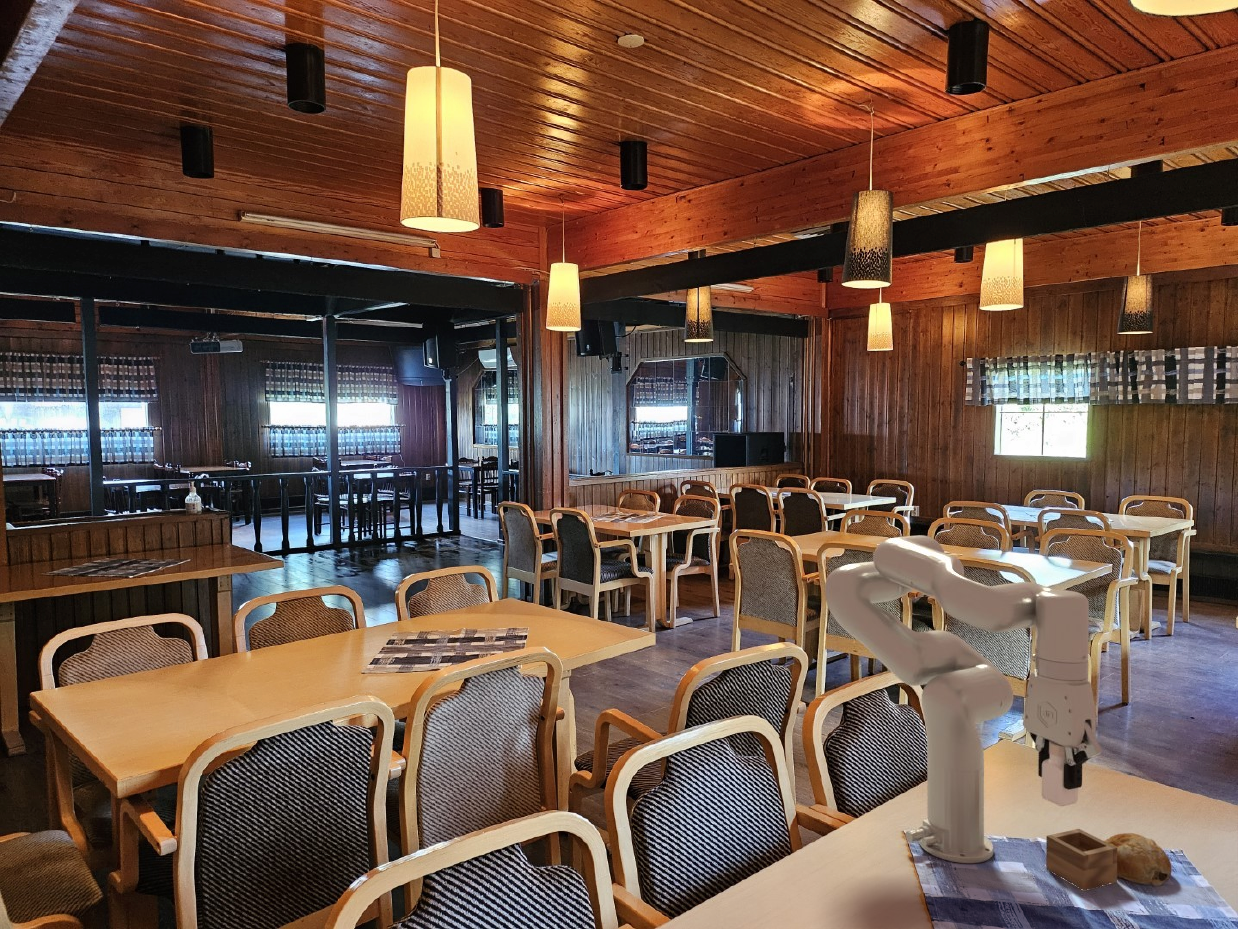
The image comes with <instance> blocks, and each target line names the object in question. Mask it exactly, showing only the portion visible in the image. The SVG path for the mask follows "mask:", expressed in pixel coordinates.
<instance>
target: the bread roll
mask: <svg viewBox="0 0 1238 929" xmlns="http://www.w3.org/2000/svg"><path fill="white" fill-rule="evenodd" d="M1103 841H1104V842H1106V843H1108V844H1110V845H1112V846H1114V847H1116V848H1117V878H1119V877H1121V879H1123V880H1127V881H1128V882H1131V883H1135V884H1138V883H1139V885H1145V886H1150V885H1151V886H1154V887H1159V886H1161V885H1163V883H1165V882H1166V881H1167V880H1168V879H1169V878H1170V876H1171V875H1172V870H1173V869H1172V868H1173V866H1172V863H1171V861H1170V858H1169V856H1168V855H1167V854H1166V852H1165V850H1164V849H1163V848H1162V847H1160V846H1159V845H1158V844H1157V843H1156V841H1155V840H1154V839H1152V838H1148V837H1145V836H1144V835H1140V834H1137V833H1132V832H1131V833H1130V832H1125V833H1118V834H1114V835H1112V836H1110V837H1109V838H1107V839H1106V840H1103Z"/></svg>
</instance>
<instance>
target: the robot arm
mask: <svg viewBox="0 0 1238 929" xmlns="http://www.w3.org/2000/svg"><path fill="white" fill-rule="evenodd" d="M912 591H916V592H918V593H920V594H922V595H925V596H927V597H930V598H932V599H934V600H936V602H937V604H938V605H939V606H940V608H941V609H942V610H943V611H944V612H945V613H946V614H947V615H948V616H950V617H951V618H954V619H955V620H957V621H959V622H962V623H965V624H967V625H970V626H972V627H974V628H977V629H979V630H982V631H986V632H989V633H997V634H998V633H1005V632H1010V631H1014V630H1015V631H1016V630H1020V629H1022V630H1023V629H1030V628H1035V629H1034V630H1035V632H1034V634H1035V635H1034V637H1035V639H1034V641H1035V642H1034V644H1035V646H1034V653H1033V654H1032V655H1031V660H1032V661H1033V662H1034V670H1032V671H1030V674H1029V677H1028V678H1029V679H1028V682H1027V686H1026V692H1025V703H1024V704H1025V705H1024V719H1023V722H1022V725H1023V727H1024V728H1025V730H1026V731H1027V732H1028V733H1029V735H1030V737H1031V739H1032V741H1033V742H1034V749H1035V751H1037V752H1038V763H1037V764H1038V768H1037V769H1038V770H1037V772H1038V774H1037V775H1038V777H1040V778H1042V763H1043V761H1044V760H1046V759H1049V758H1050V753H1049V741H1052V742H1055V743H1057V744H1060V745H1062V746H1065V750H1066V757H1067V762H1068V763H1065V764H1064V788H1066V789H1068V790H1069V789H1074V788H1078V789H1079V788H1081V787H1082V786H1083V765H1084V764H1086V763H1087V761H1088V760H1091V759H1092V758H1093V757H1097V756H1100V755H1101V754H1102V753H1103V752H1102V748H1101V746H1100V744H1099V743H1098V740H1097V738H1096V731H1097V730H1096V725H1097V724H1096V723H1097V722H1096V708H1095V700H1094V699H1095V698H1094V694H1093V688H1092V683H1091V681H1089V640H1090V639H1089V635H1090V634H1089V633H1090V632H1089V626H1090V617H1089V616H1090V607H1089V606H1090V604H1089V600H1088V598H1087V597H1086V595H1084V594H1083V593H1080V592H1078V591H1073V590H1066V589H1054V588H1051V587H1048V586H1045V585H1042V584H1039V583H1036V582H1031V581H1020V582H1014V583H1003V584H997V585H992V586H990V585H986V584H983V583H980V582H977V581H974V580H972V579H969V578H968V577H965V569H964V565H963V563H962V562H961V560H960V559H959V558H958V557H956V556H955V555H951V554H948V553H945V550H944V548H943V547H942V545H941V544H940V542H938V541H937V540H936V539H934V538H933V537H930V536H928V535H923V534H922V535H920V534H919V535H910V536H909V535H908V536H897V537H891V538H888V539H886V540H884V541H882V542H880V543H879V544H878V545H877V547H876V548H875V550H874V552H873V556H872V561H866V562H858V563H857V562H855V563H849V564H845V565H842V566H840V567H837V568H835V569H834V570H833V571H831V572H830V573H829V574H828V576H827V578H826V581H825V583H824V596H825V602H826V605H827V607H828V610H829V613H830V614H831V616H832V617H833V619H834V620H835V622H837V623H838V624H839V626H840V627H841V628H842V629H843V630H845V632H846V633H848V634H849V635H850V636H852V637H853V638H854V639H855V640H856V641H858V642H859V643H860V644H861V645H863V646H864V648H866V649H867V650H868V651H869V652H870V653H871V654H872V655H873V656H874V657H875V658H876V659H877V660H878V661H879V662H880V663H881V664H883V666H884V667H886V669H888V671H890V672H891V673H892V674H893V675H894V676H895V677H896V678H897V679H899V680H900V681H901V682H902V683H904V684H905V685H907V686H912V687H915V686H916V687H917V686H923V685H924V687H923V690H922V693H921V707H922V708H921V709H922V712H923V718H924V723H925V729H926V731H925V732H926V745H927V747H926V751H927V752H926V753H927V754H926V757H927V765H926V766H927V782H926V783H927V786H926V787H927V793H926V794H927V798H926V799H927V800H926V801H927V807H926V808H927V818H926V819H922V826H920V827H919V828H918V829H911V830H907V831H905V838H906V840H907V842H908V843H916V842H918V843H919V845H920V846H921V848H922V849H923V850H924V851H926V852H927V853H929V854H931V856H934V857H937V858H939V859H942V860H944V861H948V862H953V863H960V864H978V863H983V862H985V861H988V860H990V859H991V858H992V857H993V855H994V850H995V848H994V845H993V843H992V841H991V840H990V839H989V838H988V837H987V836H986V835H985V757H984V756H985V754H984V747H983V743H982V741H981V738H980V736H979V734H978V731H977V724H980V723H983V722H987V721H991V720H994V719H998V718H999V717H1001V716H1004V715H1006V713H1008V712H1009V711H1010V710H1011V708H1012V706H1013V702H1014V691H1013V687H1012V685H1011V684H1010V682H1009V680H1008V678H1007V677H1006V676H1005V674H1003V672H1002V671H1001V670H1000V669H999V668H998V667H997V666H996V665H994V664H993V663H992V662H991V661H989V660H988V659H986V658H985V656H983V655H982V654H981V653H979V652H978V651H977V650H976V649H975V648H973V647H972V646H971V645H970V644H969V643H967V642H966V641H965V640H964V639H962V638H961V637H960V636H958V635H956V634H954V633H952V632H950V631H946V630H941V629H940V630H939V629H938V630H936V629H935V630H929V631H923V632H920V631H919V632H918V631H914V630H913V629H911V628H910V627H908V626H907V625H906V624H905V623H903V622H902V621H901V620H900V619H899V618H898V617H897V616H895V615H894V614H893V613H891V612H889V611H887V610H886V609H883V608H881V607H879V606H877V605H876V604H878V603H884V602H885V603H886V602H891V601H895V600H897V599H900V598H902V597H904V596H905V595H907V594H908V593H910V592H912ZM1075 749H1076V753H1075Z"/></svg>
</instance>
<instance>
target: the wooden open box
mask: <svg viewBox="0 0 1238 929" xmlns="http://www.w3.org/2000/svg"><path fill="white" fill-rule="evenodd" d="M1045 840H1046V841H1045V842H1046V850H1045V851H1046V852H1045V854H1046V855H1045V856H1046V862H1045V864H1046V866H1045V867H1046V868H1045V870H1046V869H1047V871H1048V870H1049V871H1048V872H1050V871H1051V872H1053V873H1055V874H1056V875H1055V874H1054V875H1055V876H1057V877H1058V876H1059V877H1058V878H1060V877H1062V878H1064V879H1065V880H1067V881H1068V882H1067V881H1066V882H1067V883H1069V882H1070V883H1073V884H1074V885H1076V886H1077V887H1079V888H1080V889H1079V888H1078V889H1079V890H1081V889H1083V890H1086V891H1088V890H1087V889H1090V890H1094V889H1097V888H1096V887H1098V888H1101V887H1100V886H1102V885H1106V886H1108V885H1107V884H1109V883H1113V884H1117V883H1118V877H1117V848H1116V847H1114V846H1112V845H1110V844H1108V843H1106V842H1104V841H1105V840H1102V839H1101V838H1098V837H1096V836H1095V835H1092V834H1091V833H1088V832H1086V831H1085V830H1082V829H1080V828H1076V829H1072V830H1066V831H1062V832H1059V833H1054V834H1047V835H1046V839H1045ZM1051 872H1050V873H1051ZM1053 873H1052V874H1053ZM1062 878H1061V879H1062ZM1064 879H1063V880H1064ZM1065 880H1064V881H1065ZM1070 883H1069V884H1070ZM1074 885H1073V886H1074ZM1076 886H1075V887H1076ZM1077 887H1076V888H1077ZM1102 887H1103V886H1102ZM1093 888H1094V889H1093ZM1083 890H1082V891H1083Z"/></svg>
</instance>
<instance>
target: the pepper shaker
mask: <svg viewBox="0 0 1238 929" xmlns="http://www.w3.org/2000/svg"><path fill="white" fill-rule="evenodd" d="M1049 753H1050V758H1049V759H1046V760H1044V761H1043V763H1042V777H1041V797H1042V799H1044V800H1047V801H1049V802H1051V803H1052V804H1054V805H1056V806H1060V807H1067V806H1069V805H1073V804H1074V805H1075V804H1077V802H1078V800H1079V788H1074V789H1069V790H1068V789H1066V788H1064V764H1065V763H1068V762H1067V757H1066V750H1065V746H1062V745H1060V744H1057V743H1055V742H1052V741H1049Z"/></svg>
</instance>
